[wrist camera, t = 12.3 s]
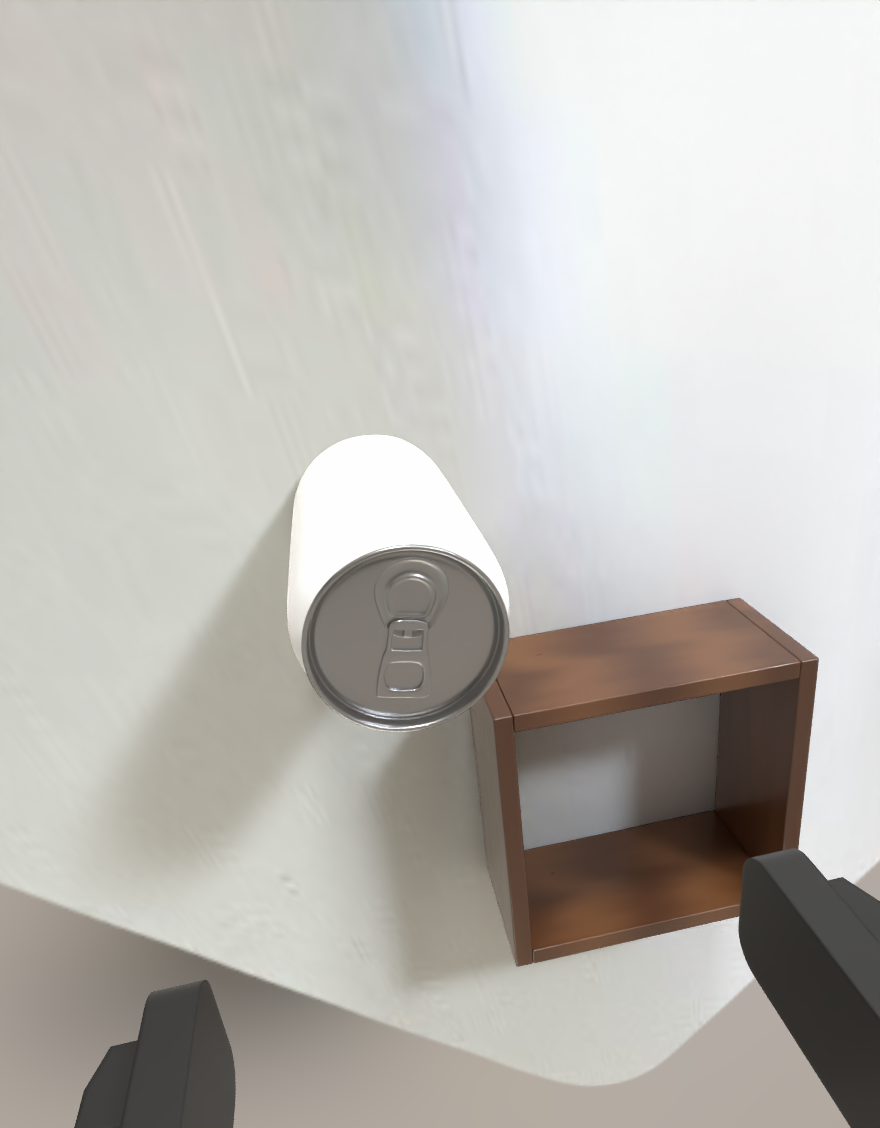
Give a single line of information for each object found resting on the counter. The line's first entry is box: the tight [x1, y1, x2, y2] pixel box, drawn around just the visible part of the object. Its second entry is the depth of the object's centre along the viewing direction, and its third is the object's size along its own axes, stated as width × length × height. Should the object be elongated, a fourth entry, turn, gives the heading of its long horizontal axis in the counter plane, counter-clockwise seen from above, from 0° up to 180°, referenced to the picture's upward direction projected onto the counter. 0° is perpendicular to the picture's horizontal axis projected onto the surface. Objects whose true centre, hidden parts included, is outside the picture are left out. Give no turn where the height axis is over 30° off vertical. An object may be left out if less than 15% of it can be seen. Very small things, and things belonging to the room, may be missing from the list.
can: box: [287, 435, 509, 732], centre depth 25 cm, size 6×6×12 cm
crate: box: [470, 598, 819, 967], centre depth 34 cm, size 14×14×6 cm
